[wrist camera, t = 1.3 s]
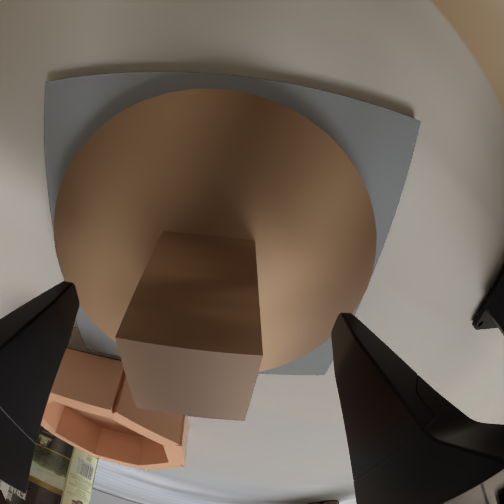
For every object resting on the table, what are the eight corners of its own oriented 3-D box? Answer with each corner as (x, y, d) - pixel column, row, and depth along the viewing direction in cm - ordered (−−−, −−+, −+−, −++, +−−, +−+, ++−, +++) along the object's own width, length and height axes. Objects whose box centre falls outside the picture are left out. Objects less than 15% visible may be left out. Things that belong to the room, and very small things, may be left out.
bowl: (185, 371, 16) (178, 422, 13) (190, 443, 22) (187, 476, 19) (21, 334, 15) (-1, 371, 12) (70, 416, 21) (61, 446, 18)
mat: (415, 119, 9) (420, 121, 9) (323, 369, 16) (324, 374, 16) (51, 81, 8) (45, 81, 7) (87, 344, 15) (85, 348, 14)
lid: (407, 129, 9) (525, 182, 4) (319, 369, 15) (337, 461, 11) (54, 92, 8) (-67, 122, 3) (91, 344, 14) (57, 430, 9)
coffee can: (21, 421, 25) (-4, 502, 12) (43, 415, 22) (13, 519, 10) (80, 457, 29) (64, 534, 17) (115, 456, 26) (99, 551, 14)
